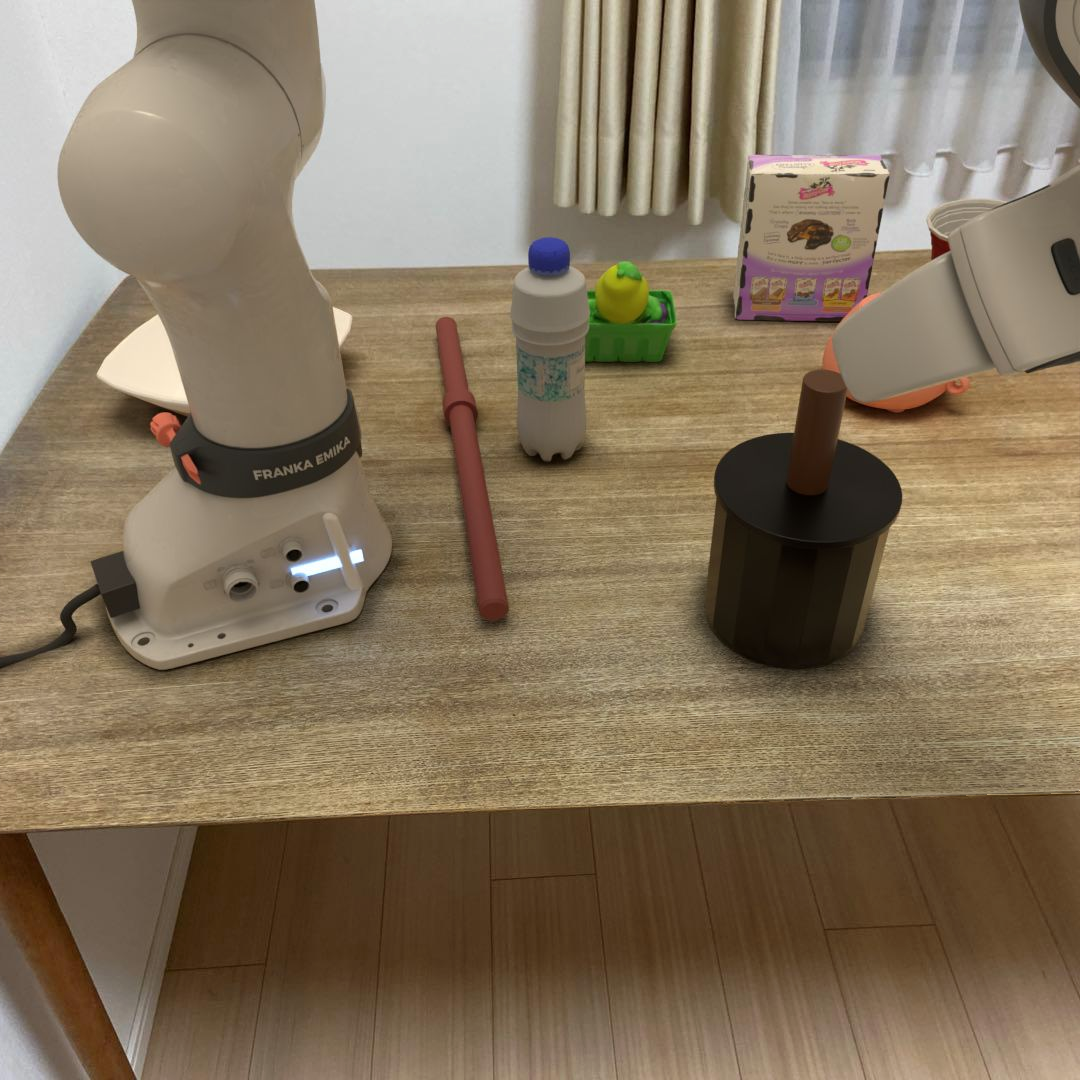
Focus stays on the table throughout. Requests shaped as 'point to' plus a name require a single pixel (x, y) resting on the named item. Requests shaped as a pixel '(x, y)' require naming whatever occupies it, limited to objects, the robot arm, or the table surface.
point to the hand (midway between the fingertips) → (926, 354)
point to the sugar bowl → (903, 400)
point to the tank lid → (809, 478)
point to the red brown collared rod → (471, 475)
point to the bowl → (163, 364)
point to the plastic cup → (954, 220)
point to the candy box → (808, 235)
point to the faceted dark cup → (787, 596)
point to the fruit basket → (628, 318)
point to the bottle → (550, 350)
